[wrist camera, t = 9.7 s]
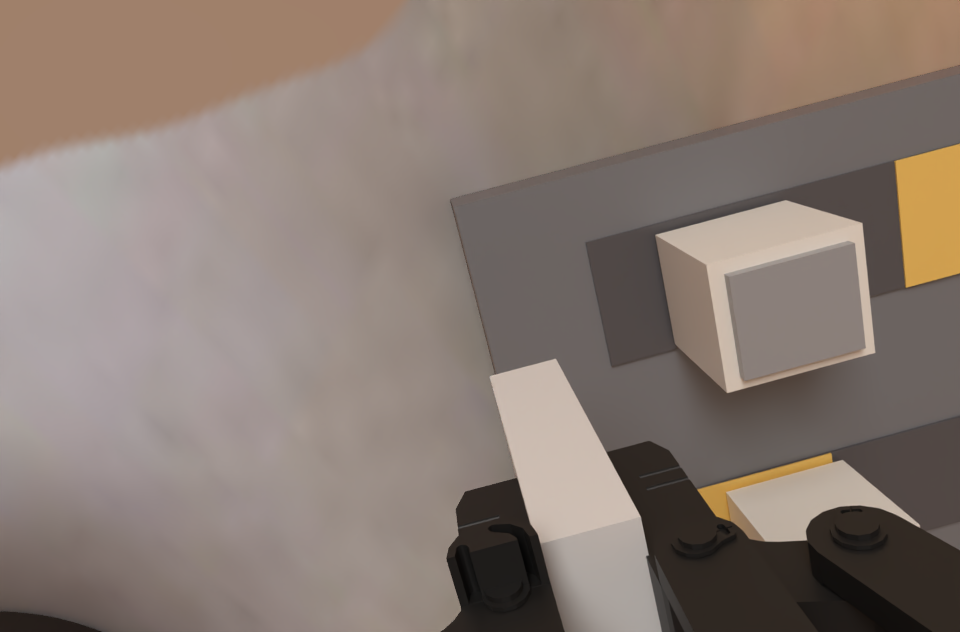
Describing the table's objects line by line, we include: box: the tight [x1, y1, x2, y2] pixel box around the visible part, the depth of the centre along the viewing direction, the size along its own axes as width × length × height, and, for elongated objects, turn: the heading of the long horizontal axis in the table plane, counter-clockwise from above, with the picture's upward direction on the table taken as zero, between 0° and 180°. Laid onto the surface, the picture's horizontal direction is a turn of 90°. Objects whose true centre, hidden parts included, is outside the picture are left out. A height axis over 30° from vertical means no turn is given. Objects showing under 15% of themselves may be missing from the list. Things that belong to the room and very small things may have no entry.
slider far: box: [726, 460, 920, 542], centre depth 24 cm, size 4×4×4 cm
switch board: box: [450, 65, 960, 550], centre depth 26 cm, size 21×17×2 cm
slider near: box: [655, 200, 875, 393], centre depth 22 cm, size 4×4×4 cm
